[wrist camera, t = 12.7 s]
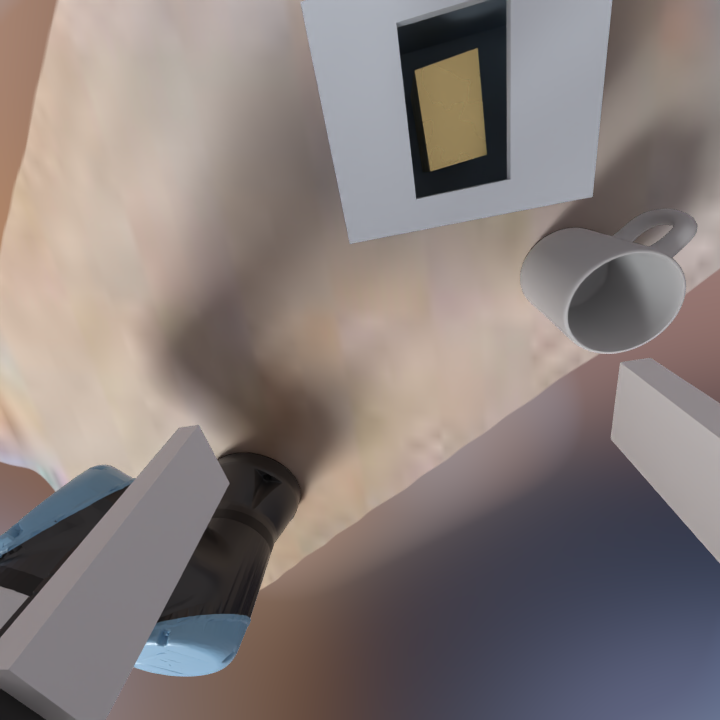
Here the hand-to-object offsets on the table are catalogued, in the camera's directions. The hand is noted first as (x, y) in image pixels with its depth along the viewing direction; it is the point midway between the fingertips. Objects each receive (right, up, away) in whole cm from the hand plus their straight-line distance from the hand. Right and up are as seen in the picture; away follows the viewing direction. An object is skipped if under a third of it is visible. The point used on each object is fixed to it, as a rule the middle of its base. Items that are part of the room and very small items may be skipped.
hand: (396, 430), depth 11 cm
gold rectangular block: (+6, +23, +19) cm, 30 cm away
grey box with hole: (+6, +23, +20) cm, 31 cm away
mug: (+21, +13, +24) cm, 34 cm away
